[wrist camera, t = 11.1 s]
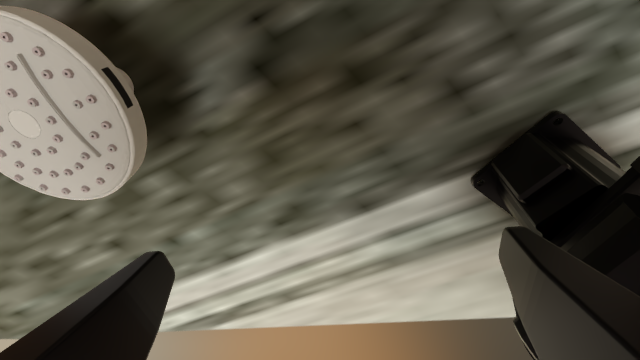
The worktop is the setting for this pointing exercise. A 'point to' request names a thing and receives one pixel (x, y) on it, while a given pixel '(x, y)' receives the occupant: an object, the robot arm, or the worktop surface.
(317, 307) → the worktop surface
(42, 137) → the showerhead
